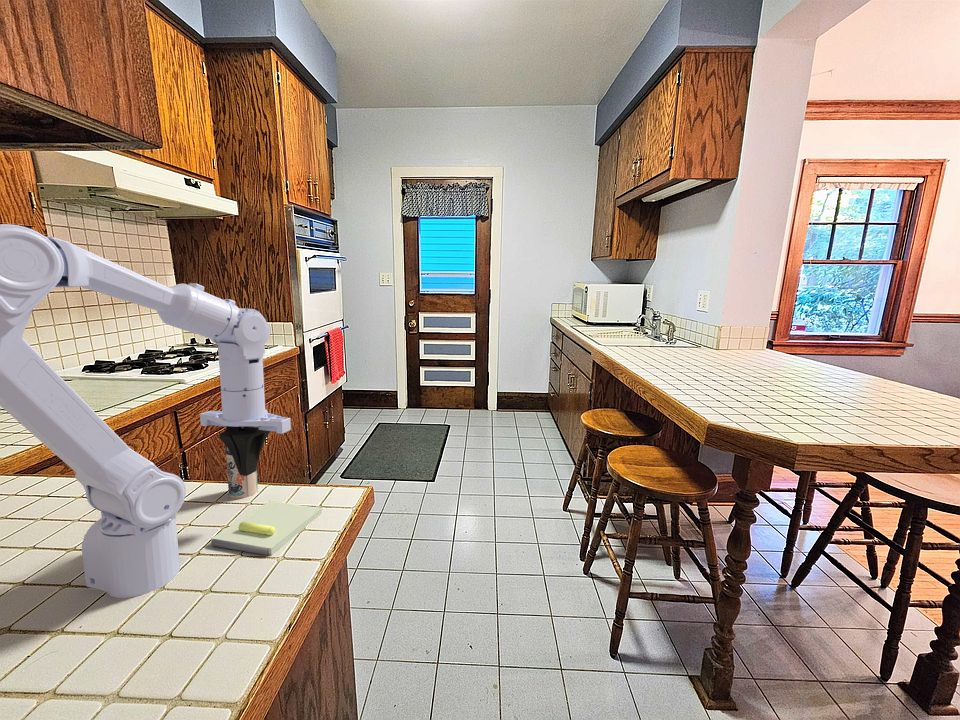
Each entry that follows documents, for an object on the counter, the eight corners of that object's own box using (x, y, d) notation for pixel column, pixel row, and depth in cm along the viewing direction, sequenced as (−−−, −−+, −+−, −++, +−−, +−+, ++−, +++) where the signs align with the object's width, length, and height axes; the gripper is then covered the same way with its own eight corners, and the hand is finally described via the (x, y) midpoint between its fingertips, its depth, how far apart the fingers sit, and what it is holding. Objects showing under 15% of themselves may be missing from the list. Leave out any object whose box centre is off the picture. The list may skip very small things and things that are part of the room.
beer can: (222, 501, 75) (217, 437, 74) (245, 490, 80) (242, 429, 78) (241, 506, 74) (237, 441, 72) (264, 495, 78) (261, 433, 76)
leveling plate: (208, 546, 60) (207, 532, 60) (269, 506, 72) (269, 494, 72) (269, 557, 58) (268, 542, 58) (321, 513, 70) (321, 501, 70)
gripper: (301, 385, 66) (305, 468, 68) (223, 379, 69) (229, 459, 71) (270, 395, 59) (274, 486, 61) (185, 388, 62) (192, 475, 64)
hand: (248, 473), depth 65 cm, fingers closed
